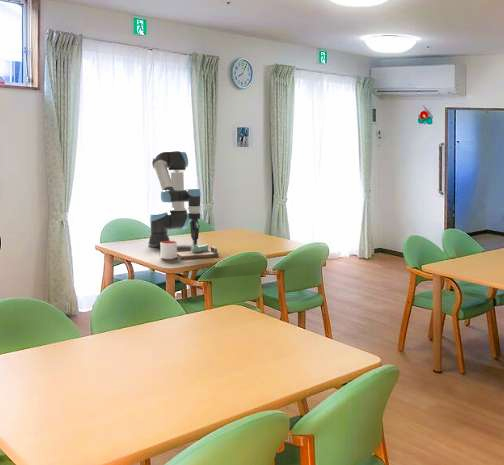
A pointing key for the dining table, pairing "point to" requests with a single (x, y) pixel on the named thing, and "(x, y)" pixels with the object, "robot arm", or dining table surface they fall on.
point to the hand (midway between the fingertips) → (194, 249)
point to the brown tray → (198, 254)
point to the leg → (199, 248)
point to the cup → (168, 249)
